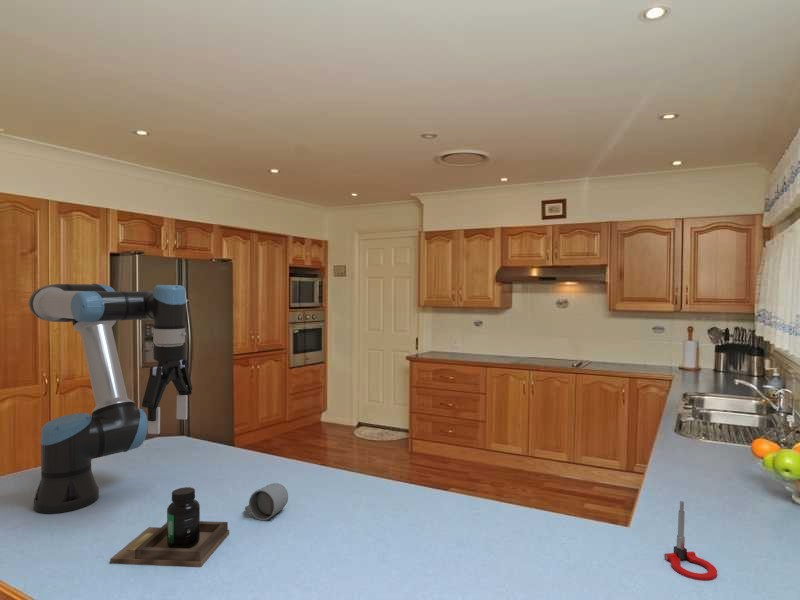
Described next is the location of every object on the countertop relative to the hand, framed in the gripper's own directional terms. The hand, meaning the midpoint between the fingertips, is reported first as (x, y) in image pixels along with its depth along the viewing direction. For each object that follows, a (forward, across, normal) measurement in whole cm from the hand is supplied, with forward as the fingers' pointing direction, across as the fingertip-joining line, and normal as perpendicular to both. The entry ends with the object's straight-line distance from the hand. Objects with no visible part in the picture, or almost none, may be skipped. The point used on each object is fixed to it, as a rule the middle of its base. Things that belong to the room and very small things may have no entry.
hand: (168, 426), depth 136 cm
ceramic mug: (+23, +2, -25) cm, 34 cm away
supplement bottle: (+22, -17, -14) cm, 31 cm away
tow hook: (+20, -16, -124) cm, 127 cm away
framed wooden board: (+22, -18, -11) cm, 31 cm away
